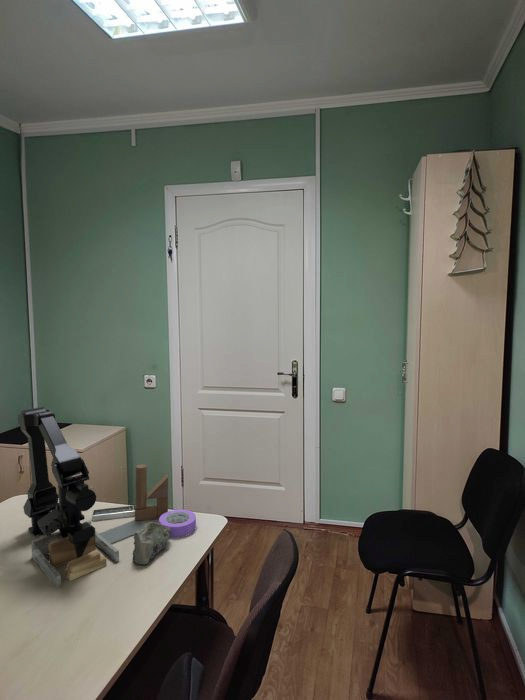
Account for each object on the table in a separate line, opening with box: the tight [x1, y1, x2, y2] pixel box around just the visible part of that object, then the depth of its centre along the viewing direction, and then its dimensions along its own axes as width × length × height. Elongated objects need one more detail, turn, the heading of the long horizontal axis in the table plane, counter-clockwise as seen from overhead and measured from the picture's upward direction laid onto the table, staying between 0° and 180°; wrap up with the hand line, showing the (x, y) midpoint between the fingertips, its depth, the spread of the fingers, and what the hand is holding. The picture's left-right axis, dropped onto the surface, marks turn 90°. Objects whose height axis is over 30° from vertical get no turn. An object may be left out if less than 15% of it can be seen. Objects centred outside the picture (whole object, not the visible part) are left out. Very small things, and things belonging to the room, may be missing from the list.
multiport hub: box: [91, 505, 135, 522], centre depth 153 cm, size 4×14×2 cm, turn 104°
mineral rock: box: [132, 521, 171, 565], centre depth 130 cm, size 13×11×10 cm
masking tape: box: [158, 509, 197, 539], centre depth 144 cm, size 12×12×4 cm
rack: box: [30, 520, 120, 588], centre depth 127 cm, size 19×17×5 cm
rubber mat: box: [98, 519, 147, 545], centre depth 142 cm, size 8×14×1 cm, turn 135°
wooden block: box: [134, 464, 169, 521], centre depth 150 cm, size 4×11×18 cm, turn 105°
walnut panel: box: [48, 536, 97, 569], centre depth 128 cm, size 3×12×6 cm, turn 135°
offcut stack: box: [64, 549, 107, 582], centre depth 122 cm, size 3×10×4 cm, turn 134°
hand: (72, 551), depth 128 cm, fingers open, 9 cm apart
